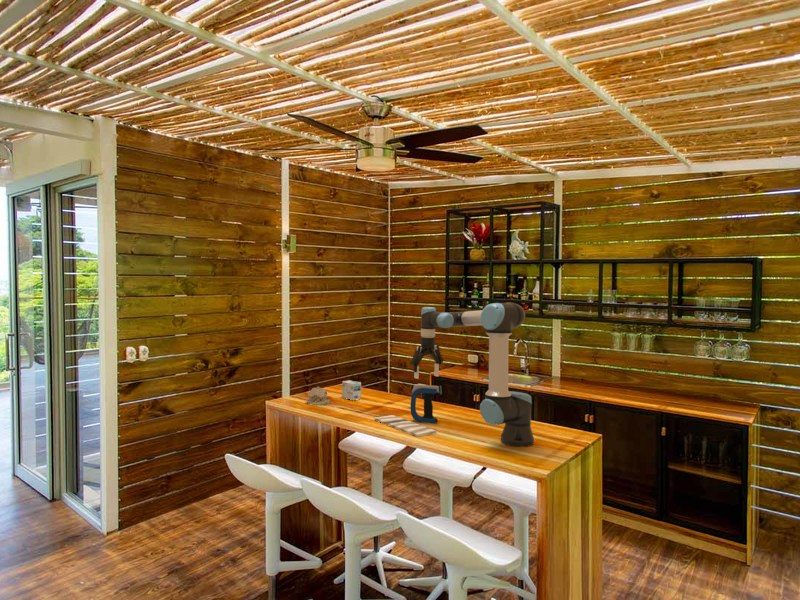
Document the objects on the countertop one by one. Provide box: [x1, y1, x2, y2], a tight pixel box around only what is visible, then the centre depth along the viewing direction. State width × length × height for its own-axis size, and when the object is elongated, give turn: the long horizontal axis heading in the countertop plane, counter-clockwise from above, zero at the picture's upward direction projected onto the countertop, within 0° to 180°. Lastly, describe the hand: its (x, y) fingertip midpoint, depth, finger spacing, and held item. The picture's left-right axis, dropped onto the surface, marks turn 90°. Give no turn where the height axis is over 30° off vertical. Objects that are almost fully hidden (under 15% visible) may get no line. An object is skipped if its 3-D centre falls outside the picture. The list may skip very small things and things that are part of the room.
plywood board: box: [373, 414, 437, 438], centre depth 271 cm, size 36×12×1 cm, turn 37°
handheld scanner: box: [410, 383, 443, 425], centre depth 281 cm, size 5×16×20 cm, turn 78°
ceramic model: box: [306, 386, 331, 406], centre depth 317 cm, size 14×11×10 cm
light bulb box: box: [341, 380, 362, 401], centre depth 331 cm, size 11×7×11 cm, turn 49°
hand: (426, 377), depth 280 cm, fingers open, 13 cm apart
